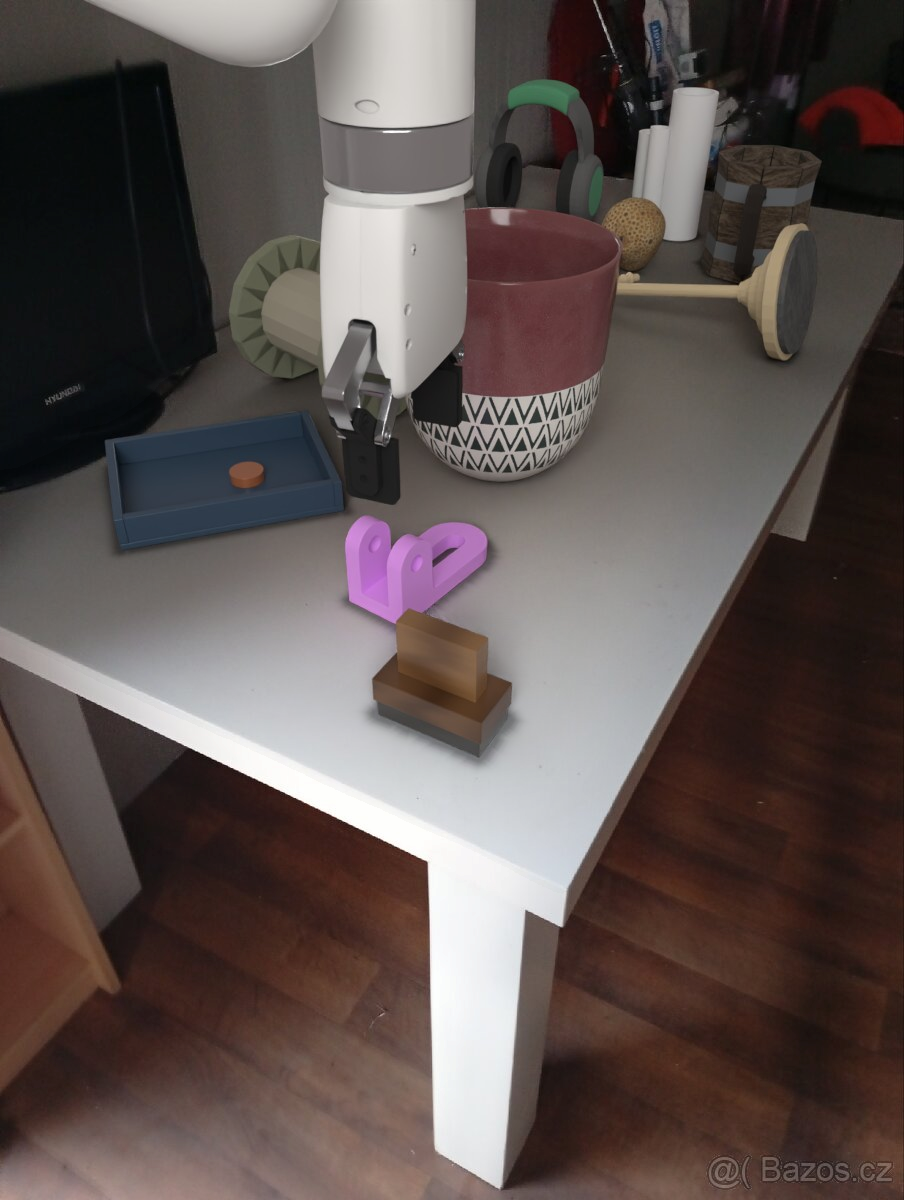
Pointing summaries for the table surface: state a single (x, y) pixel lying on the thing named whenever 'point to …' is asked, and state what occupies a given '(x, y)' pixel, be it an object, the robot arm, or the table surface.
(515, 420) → the planter
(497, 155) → the headphones
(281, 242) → the spool
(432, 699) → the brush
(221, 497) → the tray
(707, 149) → the vase
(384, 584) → the bracket
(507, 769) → the table surface
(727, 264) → the mug
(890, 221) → the table surface
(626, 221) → the natural sponge
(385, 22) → the robot arm
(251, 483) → the orange disc
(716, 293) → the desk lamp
